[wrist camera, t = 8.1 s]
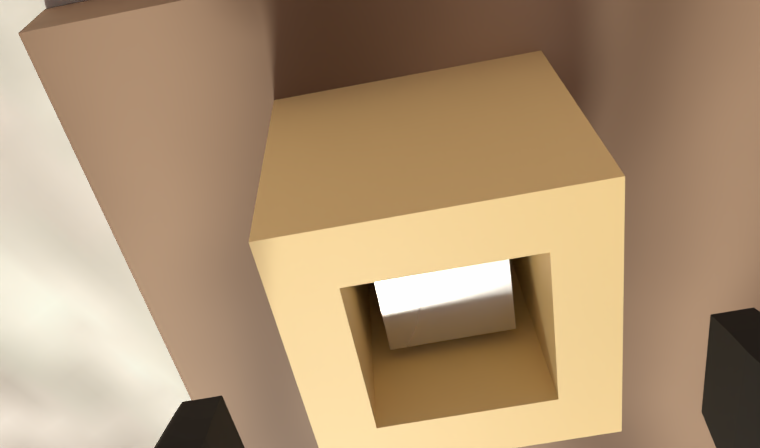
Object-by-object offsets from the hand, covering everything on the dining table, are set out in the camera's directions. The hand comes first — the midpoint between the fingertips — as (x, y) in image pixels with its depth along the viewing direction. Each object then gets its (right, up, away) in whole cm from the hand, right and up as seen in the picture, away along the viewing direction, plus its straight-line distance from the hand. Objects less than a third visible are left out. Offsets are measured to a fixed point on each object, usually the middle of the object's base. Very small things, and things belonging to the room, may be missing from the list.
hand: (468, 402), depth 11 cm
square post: (0, +3, +5) cm, 6 cm away
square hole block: (0, +3, +5) cm, 6 cm away
